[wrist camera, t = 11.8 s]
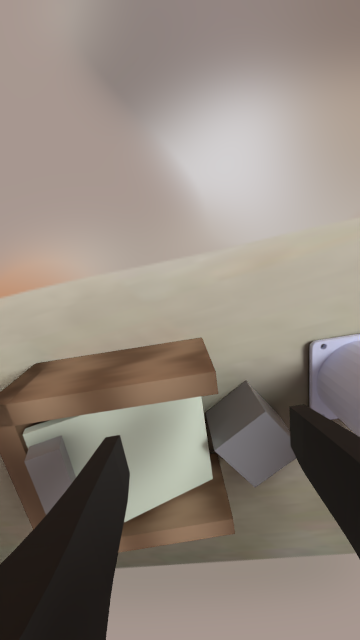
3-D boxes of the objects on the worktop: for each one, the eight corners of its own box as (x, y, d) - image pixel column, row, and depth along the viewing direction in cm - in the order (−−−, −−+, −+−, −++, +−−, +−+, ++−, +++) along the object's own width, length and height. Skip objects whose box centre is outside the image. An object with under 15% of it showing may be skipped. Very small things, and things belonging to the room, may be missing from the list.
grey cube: (205, 412, 22) (245, 379, 21) (238, 443, 23) (278, 413, 22) (214, 450, 18) (265, 411, 17) (255, 487, 19) (304, 452, 18)
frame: (201, 337, 20) (215, 371, 14) (218, 464, 23) (234, 533, 18) (35, 363, 20) (-20, 408, 14) (78, 487, 23) (48, 563, 18)
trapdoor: (192, 370, 18) (205, 383, 16) (207, 469, 21) (220, 491, 19) (26, 424, 15) (16, 449, 13) (69, 534, 17) (66, 570, 15)
